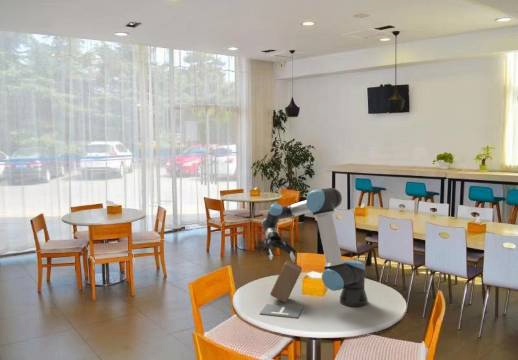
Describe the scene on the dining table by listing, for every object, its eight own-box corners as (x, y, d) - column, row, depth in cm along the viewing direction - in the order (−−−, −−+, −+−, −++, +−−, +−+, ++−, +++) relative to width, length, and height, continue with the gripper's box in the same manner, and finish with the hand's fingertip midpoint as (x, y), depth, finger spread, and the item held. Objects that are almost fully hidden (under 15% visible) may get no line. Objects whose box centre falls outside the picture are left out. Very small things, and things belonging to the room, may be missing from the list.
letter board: (303, 308, 251) (303, 307, 251) (297, 318, 238) (297, 317, 237) (266, 305, 256) (266, 303, 256) (259, 314, 243) (259, 313, 243)
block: (285, 303, 258) (301, 271, 255) (269, 295, 259) (284, 263, 257) (287, 297, 268) (302, 267, 265) (272, 289, 269) (286, 259, 266)
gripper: (290, 243, 286) (300, 266, 268) (251, 239, 278) (260, 262, 260) (294, 233, 283) (305, 256, 265) (255, 229, 274) (264, 252, 257)
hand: (283, 259), depth 263 cm, fingers open, 13 cm apart
